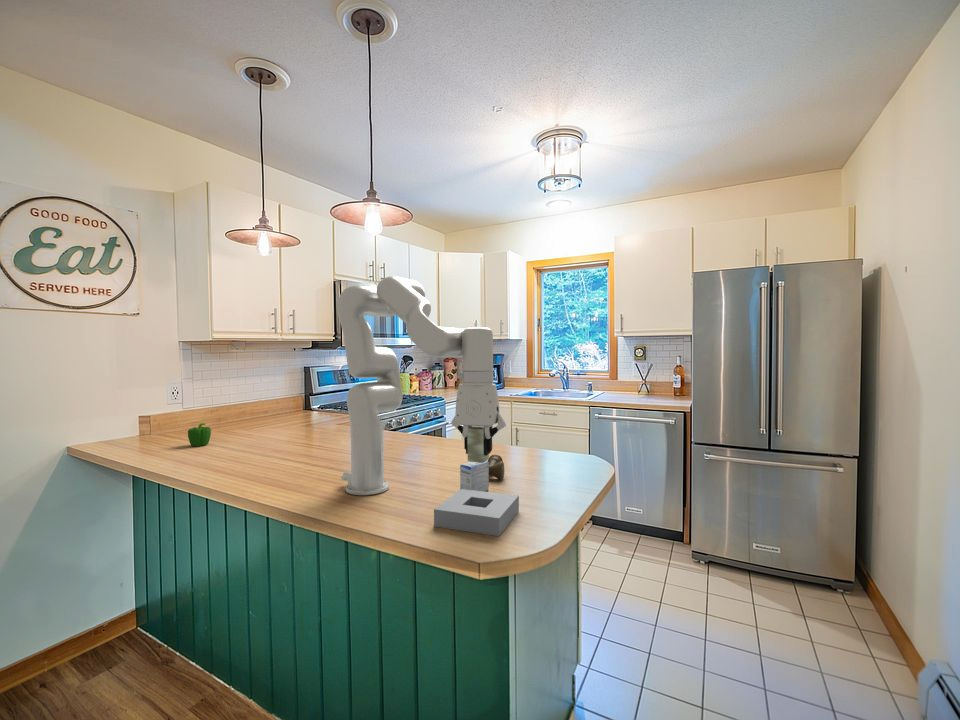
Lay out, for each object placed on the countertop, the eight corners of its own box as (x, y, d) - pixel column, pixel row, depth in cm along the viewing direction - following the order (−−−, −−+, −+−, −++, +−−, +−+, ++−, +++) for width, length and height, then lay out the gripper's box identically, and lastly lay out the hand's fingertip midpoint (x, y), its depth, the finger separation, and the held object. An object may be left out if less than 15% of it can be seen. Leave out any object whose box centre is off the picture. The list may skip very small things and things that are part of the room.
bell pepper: (183, 447, 188) (183, 424, 188) (200, 443, 196) (200, 421, 196) (197, 448, 186) (197, 425, 185) (215, 444, 193) (214, 422, 193)
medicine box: (477, 487, 130) (477, 458, 130) (489, 490, 127) (489, 461, 127) (459, 494, 124) (459, 464, 124) (471, 497, 121) (471, 466, 121)
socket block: (434, 526, 101) (433, 509, 101) (461, 503, 116) (460, 488, 116) (499, 536, 96) (499, 518, 96) (518, 511, 111) (518, 495, 111)
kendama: (509, 470, 152) (501, 485, 132) (482, 469, 154) (470, 484, 134) (509, 452, 152) (500, 465, 132) (482, 452, 154) (469, 465, 134)
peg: (467, 461, 104) (467, 428, 104) (473, 457, 108) (473, 425, 108) (483, 462, 103) (482, 429, 103) (488, 458, 107) (488, 426, 107)
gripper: (439, 378, 105) (440, 454, 105) (506, 379, 99) (506, 459, 99) (452, 377, 112) (453, 448, 112) (515, 377, 106) (515, 452, 106)
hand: (478, 452), depth 106 cm, fingers closed on peg, 4 cm apart
